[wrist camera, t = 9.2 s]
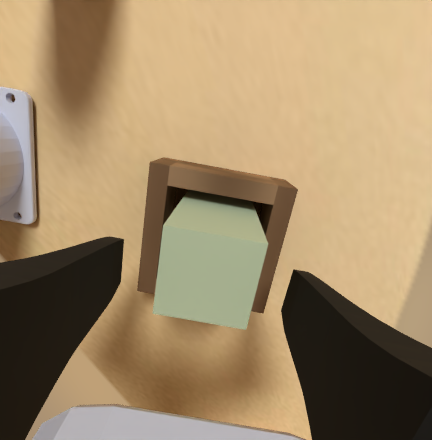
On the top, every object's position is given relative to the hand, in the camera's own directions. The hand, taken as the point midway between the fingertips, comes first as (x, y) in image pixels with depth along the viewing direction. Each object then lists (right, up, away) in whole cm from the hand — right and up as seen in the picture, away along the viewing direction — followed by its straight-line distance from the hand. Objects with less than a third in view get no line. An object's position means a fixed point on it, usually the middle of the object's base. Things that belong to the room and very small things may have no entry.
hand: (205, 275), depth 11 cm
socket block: (0, +2, +6) cm, 6 cm away
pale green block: (0, +2, +6) cm, 7 cm away
